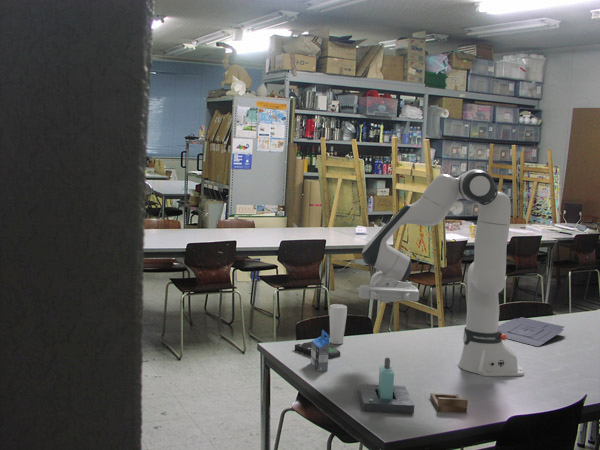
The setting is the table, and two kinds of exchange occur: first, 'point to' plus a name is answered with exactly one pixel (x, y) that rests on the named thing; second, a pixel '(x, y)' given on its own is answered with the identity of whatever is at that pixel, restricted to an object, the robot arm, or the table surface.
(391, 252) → the robot arm
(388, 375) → the plug
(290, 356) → the table surface
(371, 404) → the port block
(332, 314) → the drinking glass
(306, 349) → the disk drive
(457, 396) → the open wooden frame
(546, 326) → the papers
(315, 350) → the blue product box
